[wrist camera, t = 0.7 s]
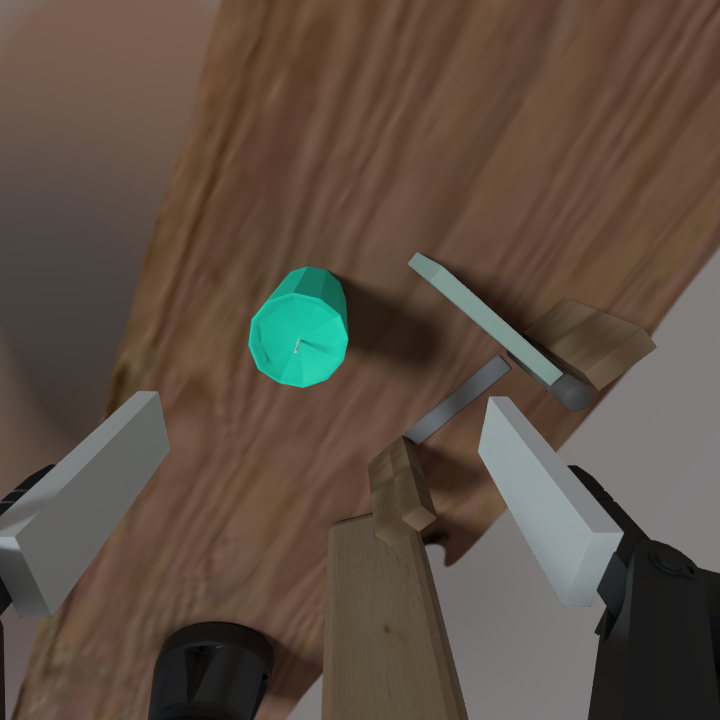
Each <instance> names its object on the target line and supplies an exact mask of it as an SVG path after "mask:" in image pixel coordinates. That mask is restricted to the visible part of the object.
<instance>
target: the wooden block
mask: <svg viewBox="0 0 720 720" xmlns="http://www.w3.org/2000/svg"><path fill="white" fill-rule="evenodd" d="M321 720H468V716H467V712H466V707H465V703H464V699H463V695H462V692H461V688H460V683H459V679H458V676H457V672H456V668H455V664H454V660H453V656H452V652H451V648H450V644H449V640H448V636H447V632H446V628H445V624H444V620H443V616H442V612H441V608H440V604H439V600H438V596H437V592H436V588H435V584H434V580H433V576H432V572H431V568H430V564H429V560H428V557H427V554H426V550H425V547H424V544H423V540H422V537H421V534H420V531H417V530H416V529H414V530H413V531H411V532H410V533H409V534H407V535H406V536H405V537H403V538H402V539H401V540H399V541H398V542H397V543H395V544H394V545H393V546H390V545H389V544H387V543H386V542H384V541H383V540H382V539H380V538H379V537H377V536H376V535H375V529H374V519H373V513H372V514H368V515H365V516H361V517H357V518H353V519H349V520H345V521H341V522H337V523H334V524H333V525H331V526H330V528H329V533H328V557H327V583H326V610H325V637H324V663H323V690H322V717H321Z"/></svg>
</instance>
